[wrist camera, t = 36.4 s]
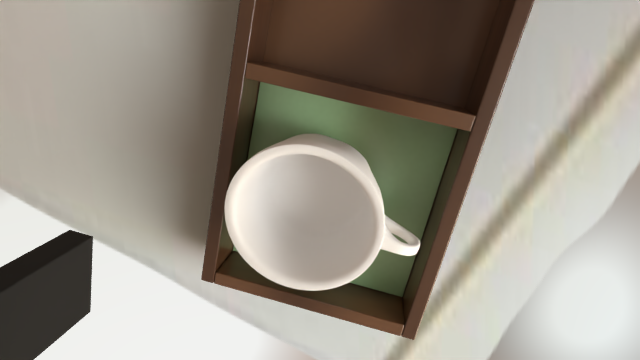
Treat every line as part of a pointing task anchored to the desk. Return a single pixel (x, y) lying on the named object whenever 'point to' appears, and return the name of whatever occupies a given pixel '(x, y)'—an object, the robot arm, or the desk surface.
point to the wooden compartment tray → (368, 126)
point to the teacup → (310, 214)
